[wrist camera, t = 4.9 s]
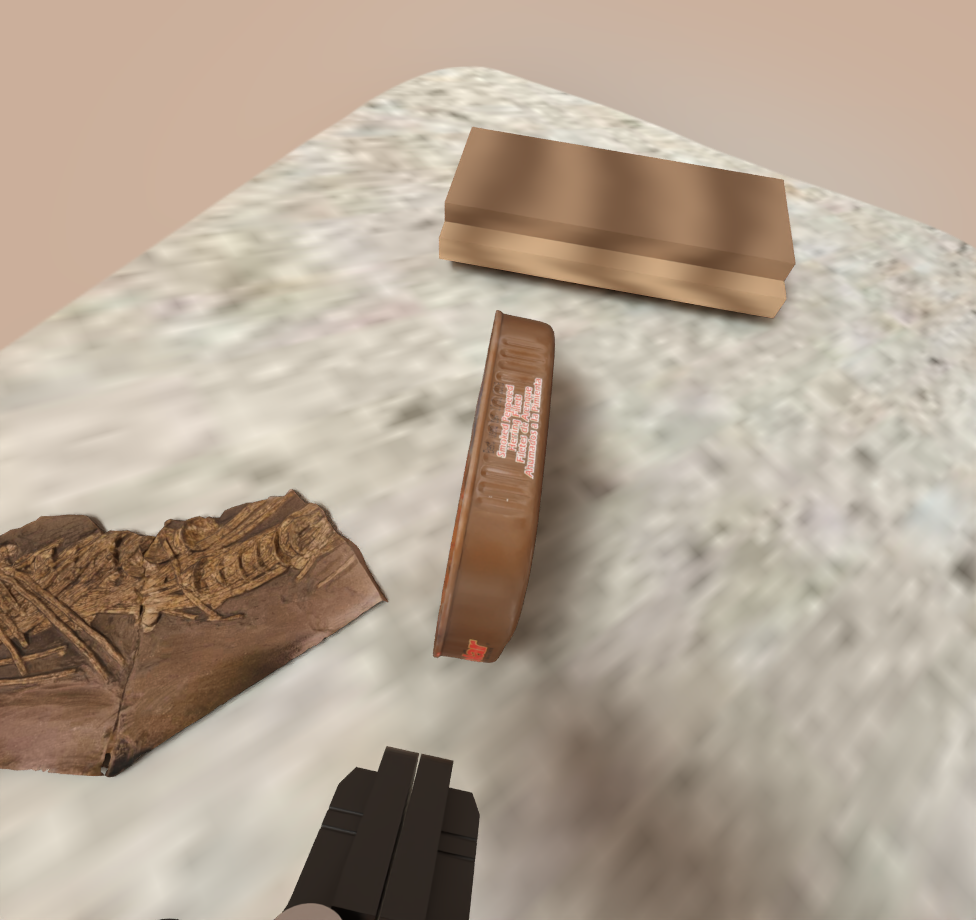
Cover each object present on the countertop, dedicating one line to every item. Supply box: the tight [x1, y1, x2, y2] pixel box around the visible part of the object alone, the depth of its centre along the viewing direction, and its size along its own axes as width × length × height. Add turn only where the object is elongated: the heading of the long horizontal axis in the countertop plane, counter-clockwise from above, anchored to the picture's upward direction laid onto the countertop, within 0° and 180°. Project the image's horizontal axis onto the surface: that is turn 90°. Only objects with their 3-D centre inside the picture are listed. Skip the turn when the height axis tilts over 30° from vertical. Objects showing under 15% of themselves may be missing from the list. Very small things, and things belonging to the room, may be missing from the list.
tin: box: [433, 310, 555, 663], centre depth 24 cm, size 15×3×8 cm, turn 172°
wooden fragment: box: [0, 489, 388, 777], centre depth 23 cm, size 26×11×1 cm, turn 100°
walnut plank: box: [439, 127, 795, 318], centre depth 36 cm, size 20×10×4 cm, turn 80°
